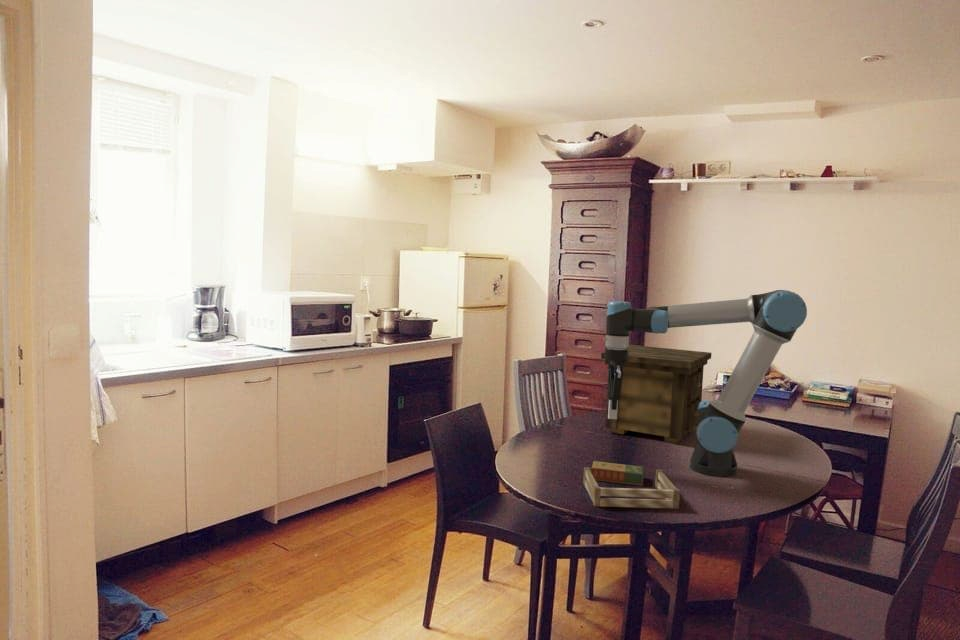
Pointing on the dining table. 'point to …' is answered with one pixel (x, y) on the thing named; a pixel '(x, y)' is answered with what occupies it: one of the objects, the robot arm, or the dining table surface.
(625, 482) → the carton
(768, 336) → the robot arm
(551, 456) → the dining table surface
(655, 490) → the slatted wooden tray
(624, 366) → the crate
